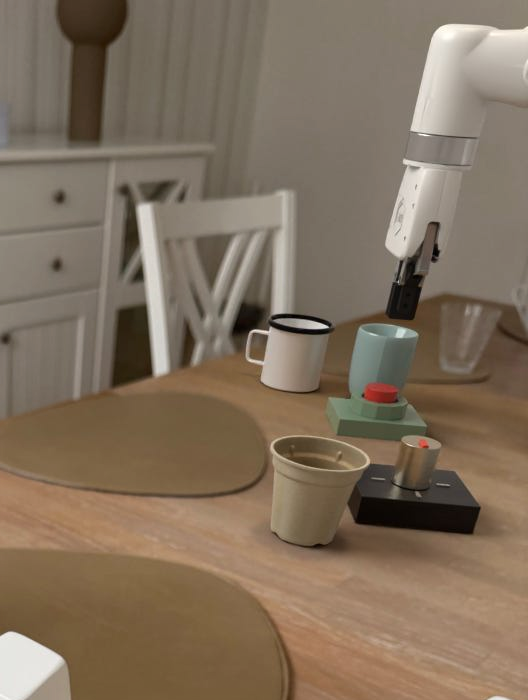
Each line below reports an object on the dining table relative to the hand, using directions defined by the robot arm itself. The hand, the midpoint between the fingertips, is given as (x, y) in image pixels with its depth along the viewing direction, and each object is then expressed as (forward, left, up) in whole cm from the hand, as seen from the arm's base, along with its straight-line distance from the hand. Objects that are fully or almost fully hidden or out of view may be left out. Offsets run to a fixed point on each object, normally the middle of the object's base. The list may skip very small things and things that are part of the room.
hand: (399, 317), depth 121 cm
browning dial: (+2, +27, -11) cm, 29 cm away
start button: (0, 0, -10) cm, 10 cm away
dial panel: (+2, +27, -14) cm, 31 cm away
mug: (+10, -17, -14) cm, 24 cm away
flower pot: (+14, +36, -14) cm, 41 cm away
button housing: (0, 0, -14) cm, 14 cm away
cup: (-2, -11, -14) cm, 18 cm away
